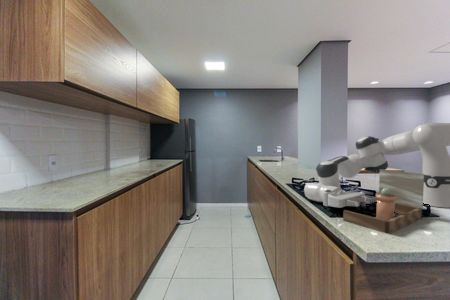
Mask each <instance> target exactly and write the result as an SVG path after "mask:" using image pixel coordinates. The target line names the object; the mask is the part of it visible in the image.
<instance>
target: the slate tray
mask: <svg viewBox="0 0 450 300" xmlns="http://www.w3.org/2000/svg"><path fill="white" fill-rule="evenodd" d="M365 197H367V198H371V199H372V200H371V203H374V202H377V199H376V196H373V195H372V196H371V195H367V194H365ZM371 203H366V202H365V201H362V202H360V205H361V206H360V207H363V206H364V207H367V206H366V204H371ZM374 204H375V203H374ZM371 205H372V204H371Z"/></svg>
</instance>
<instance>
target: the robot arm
mask: <svg viewBox="0 0 450 300" xmlns="http://www.w3.org/2000/svg"><path fill="white" fill-rule="evenodd" d="M449 146H450V123H449V122H426V123H423V124H420V125H418V126H416V127H415V128H414V129H409V130H408V131H404V132H400V133H397V134H393V135H391V136H388V137H386V138H384V139H382V140H381V141H380V139H379V138H376V137H375V136H370V135H369V136H363V137H361V138H359V139H358V140H357V141H356V142H355V148H356V150H357V152H358V153H357V154H356V153H351V154H349V155H347V156H345V155H341V156H336V157H333V158H331V159H329V160H324V161H321V162H319V163H318V164H317V166H316V168H315V170H316V173H317V177H318V183H316V182H307V183H305V185H304V188H303V190H304V195H305V197H306V198H307V199H309V200H311V201H314V202H318V203H322V205H323V206H324V207H332V208H338V209H339V208H344V207H356V208H358V207H361V206H360V202H362V201H365V202H366V203H371V200H372V199H371V198H367V197H365V195H366V193H365V192H360V191H353V190H347V191H344V190H343V189H342V187H341V182H340V177H339V176H341V177H342V178H346V179H353V178H355V177H356V176H357V175H358V174H359V173H360V172H361V171H362V170H364V171H365V172H368V173H369V172H370V173H371V174H372V173H373V174H380V169H382V170H388V168H389V163H388V160H387V159H386V156H396V155H404V154H409V153H412V152H418V151H419V152H420V154H421V160H422V161H421V163H422V169H421V171H422V172H421V174H424V187H423V203H424V204H429V205H430V207H435V208H448V209H450V154H449V152H448V149H447V147H449ZM385 155H386V156H385ZM424 204H423V205H424ZM429 205H428V206H429Z"/></svg>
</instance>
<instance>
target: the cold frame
mask: <svg viewBox="0 0 450 300" xmlns="http://www.w3.org/2000/svg"><path fill="white" fill-rule="evenodd" d="M378 179H379V182H378V183H379V184H378V193H382V192H381V191H382V189H384V188H387V189H389V190H390V194H393V195H396V201H395V210H394V212H395V213H394V214H397V213H398V215H397V216H394V218H392V219H390V220H387V221H386V220H382V219H378V218H376V217H374V216H370V215H366V214H363V213H362V214H361V213H359V212H358V213H357V212H355V211H351V210H346V209H344V210H343V212H342V213H343V216H342V217H343V219H342V220H343V221H344V222H347V223H351V224H354V225H357V226H360V227H363V228H368V229H371V230H374V231H377V232H381V233H384V234H388V235H390V234H391V233H394V232H395V231H398V230H400V229H401V228H403V227H406V226H408V225H410V224H412V223H415V222H416V221H419V220H422V218H423V217H422V216H423V208H424V207H423V205H424V204H423V187H424V174H422V172H421V173H420V172H413V171H412V172H410V171H401V170H400V171H399V170H391V169H386V170H382V169H380V172H379V178H378Z"/></svg>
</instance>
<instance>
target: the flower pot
mask: <svg viewBox="0 0 450 300" xmlns="http://www.w3.org/2000/svg"><path fill="white" fill-rule="evenodd" d="M381 192H382V193H379V192H377V193H375V197H376V199H377V203H376V208H375V209H376V211H375V213H376V215H375V218H378V219H382V220H386V221H387V220H390V219H392V218H395V213H394V210H395V201H396V195H393V194H390V190H389V189H387V188H384V189H382V191H381Z"/></svg>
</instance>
